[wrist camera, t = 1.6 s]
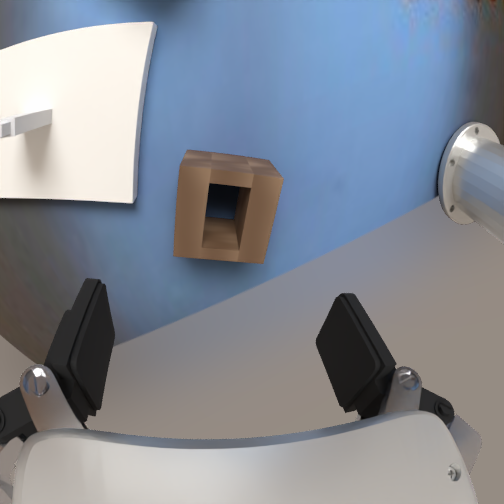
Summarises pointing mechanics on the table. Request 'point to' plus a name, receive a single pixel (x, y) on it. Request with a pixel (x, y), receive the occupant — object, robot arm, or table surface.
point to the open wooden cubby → (246, 214)
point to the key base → (74, 113)
